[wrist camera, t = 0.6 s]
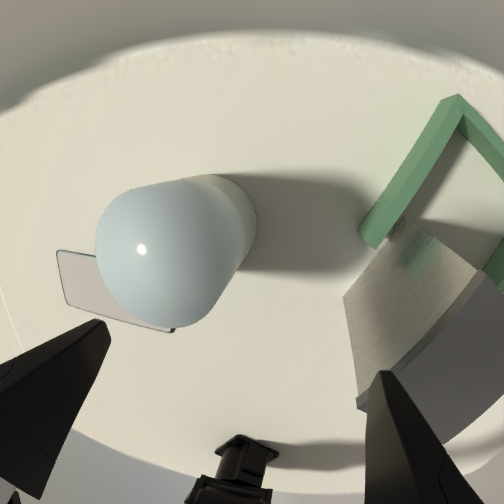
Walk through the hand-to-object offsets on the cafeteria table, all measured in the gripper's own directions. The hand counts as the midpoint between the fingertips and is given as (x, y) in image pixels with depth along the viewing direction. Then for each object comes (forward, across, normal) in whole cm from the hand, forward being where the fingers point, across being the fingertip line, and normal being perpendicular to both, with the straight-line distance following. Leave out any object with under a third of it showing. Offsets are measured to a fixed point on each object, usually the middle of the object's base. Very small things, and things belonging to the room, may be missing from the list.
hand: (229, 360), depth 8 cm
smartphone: (+14, +17, +10) cm, 23 cm away
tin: (+14, -11, +5) cm, 18 cm away
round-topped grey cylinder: (+14, +6, +2) cm, 15 cm away
